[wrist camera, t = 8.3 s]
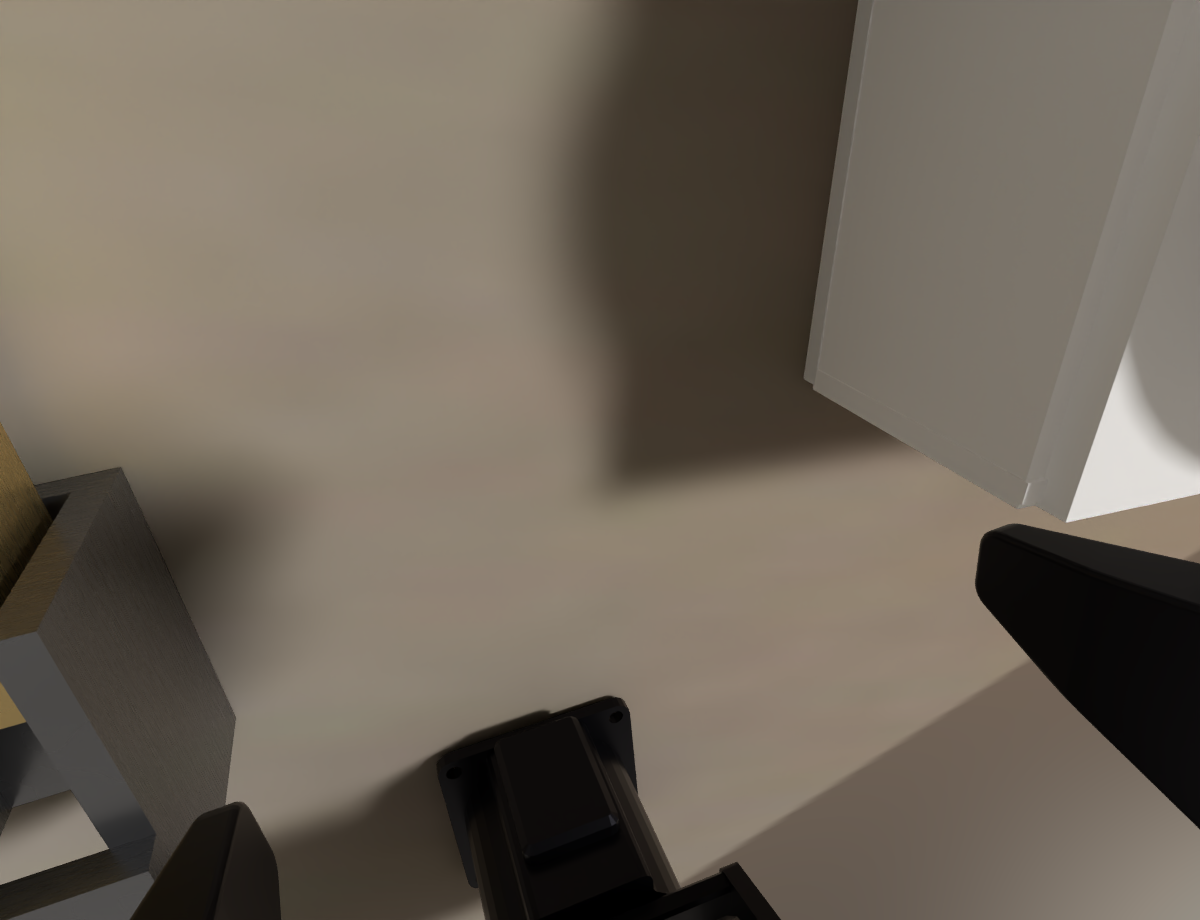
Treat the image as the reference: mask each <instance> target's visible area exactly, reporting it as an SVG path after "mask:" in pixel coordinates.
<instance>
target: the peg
mask: <svg viewBox="0 0 1200 920" xmlns="http://www.w3.org/2000/svg"><path fill="white" fill-rule="evenodd" d="M52 523H53V521H52V519H51V517H50V515H49V513H48V511H47V509H46V507H45V505H44V504H43V502H42V500H41V498H40V496H39V494H38V492H37V490H36V488H35V487H34V485H33V483H32V481H31V479H30V477H29V475H28V473H27V472H26V470H25V468H24V466H23V464H22V462H21V460H20V458H19V456H18V455H17V453H16V451H15V449H14V447H13V445H12V443H11V441H10V439H9V438H8V436H7V434H6V432H5V430H4V428H3V426H2V424H1V423H0V609H1V607H2V605H3V604H4V602H5V600H6V599H7V597H8V595H9V594H10V592H11V590H12V589H13V587H14V586H15V584H16V582H17V581H18V579H19V577H20V576H21V574H22V572H23V571H24V569H25V567H26V566H27V564H28V563H29V561H30V559H31V558H32V556H33V554H34V553H35V551H36V549H37V548H38V546H39V544H40V543H41V541H42V540H43V538H44V536H45V535H46V533H47V531H48V530H49V528H50V526H51V525H52ZM24 722H26V720H25V719H24V717H23V716H22V714H21V713H20V711H19V710H18V708H17V707H16V705H15V704H14V702H13V701H12V699H11V697H10V696H9V694H8V693H7V691H6V690H5V688H4V687H3V685H2V684H1V682H0V729H3V728H7V727H10V726H14V725H17V724H21V723H24Z"/></svg>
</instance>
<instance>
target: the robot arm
mask: <svg viewBox="0 0 1200 920" xmlns="http://www.w3.org/2000/svg"><path fill="white" fill-rule="evenodd" d="M975 587H976V591H977V594H978V596H979V598H980V600H981V601H982V603H983V604H984V605H985V606H986V608H987V609H988V610H989V611H990V612H991V613H992V614H993V616H994V617H995V618H996V619H997V620H998V621H999V623H1000V624H1001V625H1002V626H1003V627H1004V628H1005V630H1006V631H1007V632H1008V633H1009V634H1010V635H1011V636H1012V638H1013V639H1014V640H1015V641H1016V642H1017V643H1018V645H1019V646H1020V647H1021V648H1022V649H1023V650H1024V652H1025V653H1026V654H1027V655H1028V656H1029V657H1030V659H1031V660H1032V661H1033V662H1034V663H1035V664H1036V665H1037V667H1038V668H1039V669H1040V670H1041V671H1042V672H1043V674H1044V675H1045V676H1046V677H1047V678H1048V679H1049V680H1050V681H1051V683H1052V684H1053V685H1054V686H1055V687H1056V688H1057V689H1058V690H1059V692H1060V693H1061V694H1062V695H1063V696H1064V697H1065V698H1066V699H1067V700H1068V701H1069V702H1070V703H1071V704H1072V705H1073V706H1074V707H1075V708H1076V709H1077V710H1078V711H1079V712H1080V713H1081V714H1082V715H1083V716H1084V717H1085V718H1086V719H1087V720H1088V721H1089V722H1090V723H1091V724H1092V725H1093V726H1094V727H1095V728H1096V729H1097V730H1098V731H1099V732H1100V733H1101V734H1102V735H1103V736H1104V737H1105V738H1106V739H1107V740H1109V742H1111V743H1112V744H1113V745H1114V746H1115V747H1116V748H1117V749H1118V750H1119V751H1120V752H1121V753H1122V754H1123V755H1124V756H1125V757H1126V758H1127V759H1128V760H1129V761H1130V762H1131V763H1132V764H1133V765H1134V766H1135V767H1136V768H1137V769H1138V770H1139V771H1140V772H1142V774H1144V776H1145V777H1146V778H1148V779H1149V780H1150V781H1151V782H1152V783H1153V784H1154V785H1155V786H1156V787H1157V788H1158V789H1159V790H1160V791H1161V792H1162V793H1163V794H1164V795H1165V796H1166V797H1167V798H1168V799H1169V800H1170V801H1171V802H1172V803H1173V804H1174V805H1176V807H1177V808H1178V809H1179V810H1180V811H1182V812H1183V813H1184V814H1185V815H1186V816H1187V817H1188V818H1189V819H1190V820H1191V821H1192V822H1193V823H1194V824H1195V825H1196V826H1197V827H1198V828H1199V829H1200V564H1199V563H1195V562H1190V561H1186V560H1181V559H1177V558H1172V557H1168V556H1163V555H1158V554H1154V553H1149V552H1145V551H1140V550H1136V549H1131V548H1127V547H1122V546H1118V545H1113V544H1108V543H1104V542H1099V541H1095V540H1090V539H1086V538H1081V537H1077V536H1072V535H1068V534H1063V533H1058V532H1054V531H1049V530H1045V529H1040V528H1036V527H1031V526H1027V525H1022V524H1008V525H1005V526H1002V527H1000V528H997V529H994V530H991V531H989V532H987V533H986V534H984V536H983V537H982V539H981V542H980V548H979V556H978V563H977V571H976V578H975ZM614 712H616V713H614ZM612 713H614V714H612ZM453 767H456V768H454V769H451V768H453ZM449 769H450V770H449ZM437 773H438V779H439V782H440V785H441V789H442V792H443V796H444V799H445V803H446V806H447V810H448V813H449V817H450V820H451V823H452V827H453V830H454V834H455V837H456V841H457V844H458V848H459V851H460V855H461V858H462V861H463V865H464V868H465V872H466V875H467V879H468V882H469V884H470V886H471V887H474V888H479V892H480V897H481V902H482V907H483V912H484V916H485V920H781V919H780V918H779V917H778V915H777V914H776V913H775V911H774V910H773V909H772V907H771V906H770V905H769V903H768V902H767V901H766V899H765V898H764V897H763V896H762V894H761V893H760V892H759V890H758V889H757V887H756V886H755V885H754V884H753V882H752V881H751V879H750V878H749V877H748V876H747V874H746V873H745V872H744V871H743V869H742V868H741V866H740V865H739V864H738V863H737V862H735V863H732V864H730V865H727V866H725V867H723V868H720V870H719V873H717V874H715V875H712V876H710V877H707V878H705V879H703V880H700V881H697V882H695V883H692V884H690V885H688V886H685V887H683V888H681V887H680V885H679V883H678V881H677V878H676V876H675V874H674V872H673V870H672V868H671V865H670V863H669V861H668V859H667V857H666V855H665V853H664V850H663V848H662V846H661V844H660V842H659V840H658V837H657V835H656V833H655V831H654V829H653V827H652V825H651V822H650V820H649V818H648V816H647V814H646V812H645V810H644V807H643V805H642V803H641V801H640V799H639V797H638V791H637V781H636V771H635V760H634V750H633V740H632V730H631V720H630V712H629V709H628V707H627V705H626V703H625V701H624V700H623V699H621V698H617V697H615V698H610V699H607V700H604V701H601V702H598V703H595V704H592V705H589V706H586V707H583V708H580V709H577V710H575V711H572V712H569V713H566V714H563V715H560V716H557V717H554V718H551V719H548V720H545V721H542V722H539V723H536V724H533V725H530V726H527V727H524V728H521V729H518V730H515V731H512V732H509V733H506V734H503V735H500V736H497V737H494V738H491V739H489V740H486V741H483V742H480V743H477V744H474V745H471V746H468V747H465V748H462V749H459V750H456V751H453V752H450V753H448V754H446V755H444V756H442V757H441V758H440V759H439V761H438V763H437ZM130 920H281V910H280V895H279V880H278V870H277V864H276V860H275V856H274V854H273V851H272V849H271V847H270V845H269V843H268V841H267V840H266V838H265V836H264V834H263V832H262V830H261V829H260V827H259V825H258V823H257V821H256V819H255V818H254V816H253V814H252V812H251V810H250V809H249V807H248V806H247V805H246V804H245V803H243V802H233V803H231V804H228V805H225V806H222V807H220V808H217V809H214V810H211V811H208V812H206V813H203V814H201V815H200V816H199V817H198V818H197V819H196V820H195V821H194V822H193V823H192V824H191V826H190V827H189V829H188V830H187V832H186V834H185V835H184V837H183V838H182V840H181V841H180V843H179V844H178V846H177V847H176V849H175V850H174V852H173V854H172V855H171V857H170V858H169V860H168V861H167V863H166V864H165V866H164V867H163V869H162V870H161V872H160V874H159V875H158V877H157V878H156V880H155V881H154V883H153V884H152V886H151V887H150V889H149V890H148V892H147V894H146V895H145V897H144V898H143V900H142V901H141V903H140V904H139V906H138V907H137V909H136V910H135V912H134V914H133V915H132V917H131V918H130Z"/></svg>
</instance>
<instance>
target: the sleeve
mask: <svg viewBox="0 0 1200 920" xmlns="http://www.w3.org/2000/svg"><path fill="white" fill-rule="evenodd" d="M34 487H35V488H36V490H37V492H38V494H39V496H40V498H41V500H42V502H43V504H44V505H45V507H46V509H47V511H48V513H49V515H50V517H51V519H52V521H53V523H52V525H51V526H50V528H49V530H48V531H47V533H46V535H45V536H44V538H43V540H42V541H41V543H40V544H39V546H38V548H37V549H36V551H35V553H34V554H33V556H32V558H31V559H30V561H29V563H28V564H27V566H26V567H25V569H24V571H23V572H22V574H21V576H20V577H19V579H18V581H17V582H16V584H15V586H14V587H13V589H12V590H11V592H10V594H9V595H8V597H7V599H6V600H5V602H4V604H3V605H2V607H1V609H0V682H1V684H2V685H3V687H4V688H5V690H6V691H7V693H8V694H9V696H10V697H11V699H12V701H13V702H14V704H15V705H16V707H17V708H18V710H19V711H20V713H21V714H22V716H23V717H24V719H25V720H26V722H24V723H21V724H17V725H14V726H10V727H7V728H3V729H0V835H1V833H2V831H3V828H4V826H5V824H6V821H7V819H8V817H9V814H10V812H11V809H12V807H16V806H19V805H22V804H25V803H29V802H32V801H35V800H38V799H42V798H45V797H48V796H51V795H54V794H58V793H61V792H64V791H67V790H71V791H72V792H73V794H74V796H75V797H76V799H77V800H78V802H79V803H80V805H81V806H82V808H83V809H84V811H85V812H86V814H87V815H88V817H89V819H90V820H91V822H92V823H93V825H94V826H95V828H96V829H97V831H98V832H99V834H100V835H101V837H102V838H103V840H104V841H105V843H106V845H107V846H108V848H109V849H108V850H105V851H102V852H99V853H96V854H93V855H90V856H87V857H84V858H81V859H78V860H75V861H72V862H69V863H66V864H63V865H60V866H57V867H54V868H50V869H47V870H44V871H41V872H38V873H35V874H32V875H29V876H26V877H23V878H20V879H17V880H14V881H11V882H8V883H5V884H2V885H0V920H130V918H131V917H132V915H133V914H134V912H135V910H136V909H137V907H138V906H139V904H140V903H141V901H142V900H143V898H144V897H145V895H146V894H147V892H148V890H149V889H150V887H151V886H152V884H153V883H154V881H155V880H156V878H157V877H158V875H159V874H160V872H161V870H162V869H163V867H164V866H165V864H166V863H167V861H168V860H169V858H170V857H171V855H172V854H173V852H174V850H175V849H176V847H177V846H178V844H179V843H180V841H181V840H182V838H183V837H184V835H185V834H186V832H187V830H188V829H189V827H190V826H191V824H192V823H193V822H194V821H195V820H196V819H197V818H198V817H199V816H200V815H201V814H203V813H206V812H208V811H211V810H214V809H217V808H220V807H222V806H225V802H226V794H227V786H228V778H229V770H230V762H231V754H232V745H233V737H234V729H235V721H236V717H235V715H234V713H233V710H232V708H231V706H230V704H229V702H228V699H227V697H226V695H225V693H224V691H223V689H222V686H221V684H220V682H219V680H218V678H217V675H216V673H215V671H214V669H213V667H212V665H211V662H210V660H209V658H208V656H207V654H206V652H205V649H204V647H203V645H202V643H201V641H200V638H199V636H198V634H197V632H196V630H195V628H194V625H193V623H192V621H191V619H190V617H189V614H188V612H187V610H186V608H185V606H184V604H183V601H182V599H181V597H180V595H179V593H178V590H177V588H176V586H175V584H174V582H173V580H172V577H171V575H170V573H169V571H168V569H167V566H166V564H165V562H164V560H163V558H162V556H161V553H160V551H159V549H158V547H157V545H156V542H155V540H154V538H153V536H152V534H151V532H150V529H149V527H148V525H147V523H146V521H145V518H144V516H143V514H142V512H141V510H140V508H139V505H138V503H137V501H136V499H135V497H134V495H133V492H132V490H131V488H130V486H129V484H128V481H127V479H126V477H125V475H124V473H123V471H122V468H121V467H120V468H115V469H110V470H106V471H101V472H96V473H91V474H87V475H82V476H77V477H73V478H68V479H63V480H59V481H54V482H49V483H44V484H40V485H35V486H34Z"/></svg>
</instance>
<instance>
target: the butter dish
mask: <svg viewBox="0 0 1200 920" xmlns="http://www.w3.org/2000/svg"><path fill="white" fill-rule="evenodd" d="M804 380H806V381H808V382H810V383H811V384H813V390H815V391H816V392H818V393H820V394H821V395H823V396H825V397H827V398H828V399H830V400H832V401H833V402H835V403H837V404H839V405H840V406H842V407H844V408H845V409H847V410H849V411H851V412H852V413H854V414H856V415H857V416H859V417H861V418H862V419H864V420H866V421H868V422H869V423H871V424H873V425H874V426H876V427H878V428H880V429H881V430H883V431H885V432H886V433H888V434H890V435H892V436H893V437H895V438H897V439H898V440H900V441H902V442H903V443H905V444H907V445H909V446H910V447H912V448H914V449H915V450H917V451H919V452H921V453H922V454H924V455H926V456H927V457H929V458H931V459H932V460H934V461H936V462H938V463H939V464H941V465H943V466H944V467H946V468H948V469H950V470H951V471H953V472H955V473H956V474H958V475H960V476H962V477H963V478H965V479H967V480H968V481H970V482H972V483H973V484H975V485H977V486H979V487H980V488H982V489H984V490H985V491H987V492H989V493H991V494H992V495H994V496H996V497H997V498H999V499H1001V500H1002V501H1004V502H1006V503H1008V504H1009V505H1011V506H1013V507H1014V508H1016V509H1020V508H1025V507H1030V506H1037V507H1039V508H1041V509H1042V510H1044V511H1046V512H1048V513H1049V514H1051V515H1053V516H1055V517H1056V518H1058V519H1060V520H1062V521H1063V522H1065V523H1067V522H1071V521H1076V520H1080V519H1085V518H1090V517H1094V516H1099V515H1104V514H1108V513H1113V512H1118V511H1122V510H1127V509H1131V508H1136V507H1141V506H1145V505H1150V504H1155V503H1159V502H1164V501H1169V500H1173V499H1178V498H1182V497H1187V496H1192V495H1196V494H1200V0H858V7H857V14H856V20H855V27H854V34H853V41H852V48H851V55H850V62H849V69H848V76H847V83H846V89H845V96H844V103H843V110H842V117H841V124H840V131H839V138H838V145H837V152H836V158H835V165H834V172H833V179H832V186H831V193H830V200H829V207H828V214H827V220H826V227H825V234H824V241H823V248H822V255H821V262H820V269H819V276H818V283H817V289H816V296H815V303H814V310H813V317H812V324H811V331H810V338H809V345H808V352H807V358H806V365H805V372H804Z"/></svg>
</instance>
